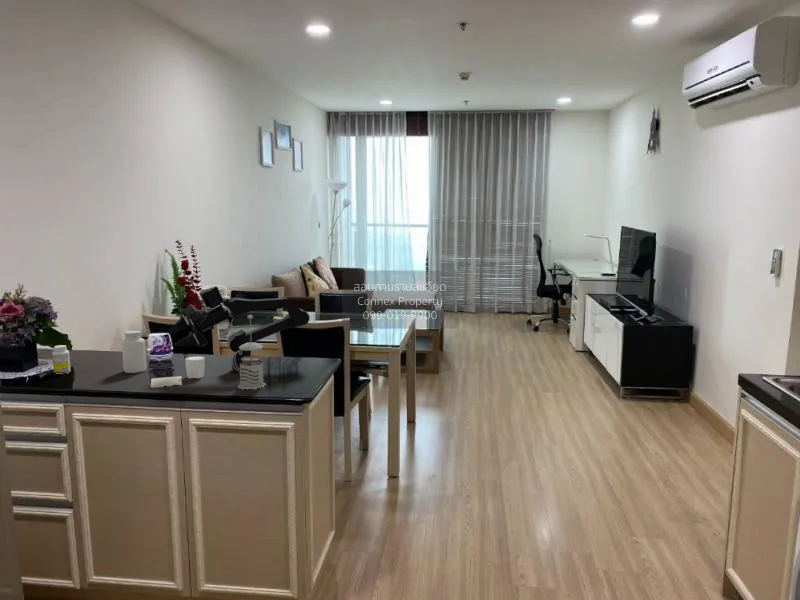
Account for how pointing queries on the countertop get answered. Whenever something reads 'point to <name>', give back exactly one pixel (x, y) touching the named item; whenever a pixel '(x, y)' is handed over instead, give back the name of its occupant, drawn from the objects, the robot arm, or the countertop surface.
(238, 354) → the robot arm
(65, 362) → the supplement bottle
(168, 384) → the coaster
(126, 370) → the pill bottle
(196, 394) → the countertop surface
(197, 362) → the shot glass
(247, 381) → the french press
